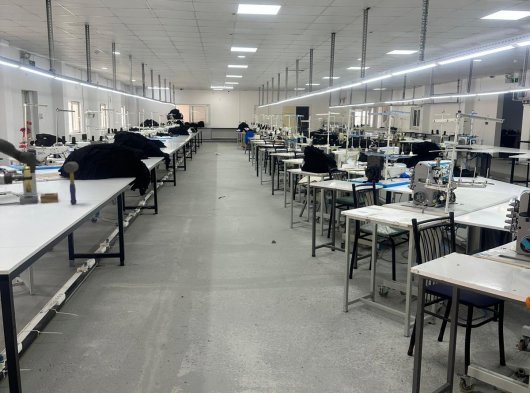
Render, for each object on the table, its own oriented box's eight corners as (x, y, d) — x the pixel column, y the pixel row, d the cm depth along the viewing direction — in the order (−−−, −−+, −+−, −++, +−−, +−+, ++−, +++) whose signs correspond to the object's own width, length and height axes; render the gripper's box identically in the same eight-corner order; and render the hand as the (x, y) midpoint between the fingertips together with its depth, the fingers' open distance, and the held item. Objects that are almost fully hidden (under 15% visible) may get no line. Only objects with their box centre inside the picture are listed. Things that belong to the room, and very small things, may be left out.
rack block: (41, 200, 315) (41, 193, 314) (58, 199, 319) (57, 192, 319) (40, 203, 304) (40, 196, 303) (58, 202, 309) (57, 195, 308)
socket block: (21, 201, 309) (20, 196, 309) (38, 200, 314) (38, 195, 313) (19, 204, 299) (19, 198, 298) (37, 203, 303) (37, 197, 303)
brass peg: (25, 191, 306) (23, 166, 303) (32, 191, 308) (30, 166, 305) (25, 192, 303) (23, 167, 299) (31, 192, 304) (29, 166, 301)
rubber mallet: (76, 206, 297) (74, 162, 292) (65, 206, 296) (62, 162, 290) (81, 202, 309) (78, 160, 304) (70, 202, 308) (67, 160, 302)
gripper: (2, 174, 290) (31, 173, 298) (4, 172, 303) (32, 171, 310) (3, 185, 292) (31, 184, 299) (5, 182, 305) (33, 181, 312)
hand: (31, 177), depth 305 cm, fingers closed on brass peg, 4 cm apart
